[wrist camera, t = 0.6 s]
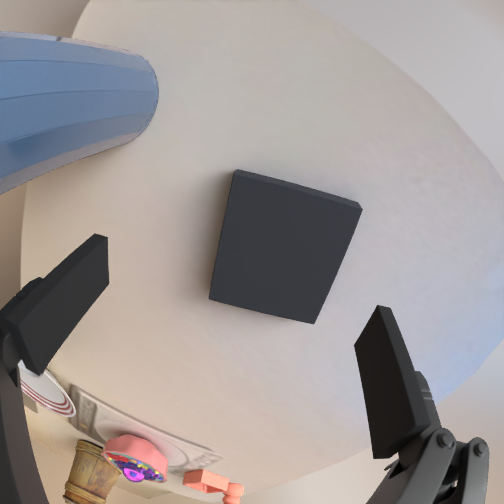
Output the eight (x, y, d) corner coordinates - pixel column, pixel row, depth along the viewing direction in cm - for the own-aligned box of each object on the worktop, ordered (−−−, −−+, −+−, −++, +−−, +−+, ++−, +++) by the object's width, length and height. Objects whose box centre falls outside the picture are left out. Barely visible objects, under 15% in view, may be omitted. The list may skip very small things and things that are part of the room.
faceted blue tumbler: (84, 53, 22) (-77, 55, 4) (168, 52, 22) (-3, 10, 4) (72, 141, 27) (-79, 205, 9) (149, 152, 27) (-13, 239, 9)
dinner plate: (83, 421, 60) (78, 430, 57) (8, 372, 57) (2, 379, 54) (77, 373, 47) (69, 385, 44) (-14, 310, 45) (-22, 318, 42)
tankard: (135, 465, 72) (115, 525, 50) (106, 465, 80) (87, 514, 58) (89, 438, 66) (63, 500, 44) (67, 440, 75) (44, 490, 53)
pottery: (185, 472, 67) (178, 499, 58) (203, 469, 63) (196, 499, 54) (231, 489, 71) (227, 514, 63) (251, 486, 68) (248, 513, 59)
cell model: (180, 441, 55) (169, 483, 45) (169, 463, 64) (160, 495, 54) (110, 414, 54) (93, 453, 44) (113, 441, 63) (100, 472, 53)
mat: (236, 168, 27) (233, 173, 25) (358, 202, 27) (363, 209, 25) (212, 289, 34) (208, 299, 32) (312, 313, 34) (314, 324, 32)
